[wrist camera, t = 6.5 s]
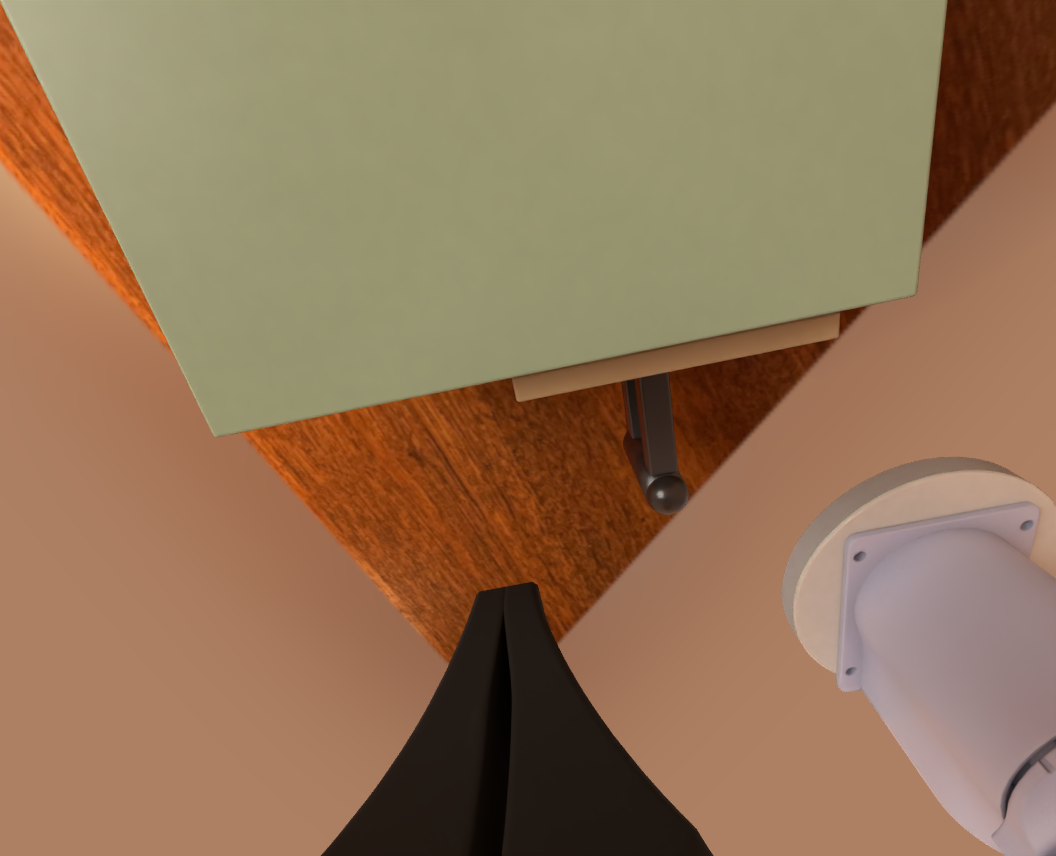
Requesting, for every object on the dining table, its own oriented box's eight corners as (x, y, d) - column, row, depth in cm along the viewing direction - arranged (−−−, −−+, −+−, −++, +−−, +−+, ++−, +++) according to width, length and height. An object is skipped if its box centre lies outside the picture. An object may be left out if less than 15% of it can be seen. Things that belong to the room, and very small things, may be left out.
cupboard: (740, 281, 19) (911, 365, 11) (344, 363, 20) (242, 497, 12) (726, -163, 14) (1009, -564, 6) (201, -38, 15) (-136, -266, 7)
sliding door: (728, 420, 20) (831, 535, 14) (539, 457, 21) (558, 586, 14) (721, 258, 18) (842, 311, 12) (506, 303, 18) (511, 378, 12)
